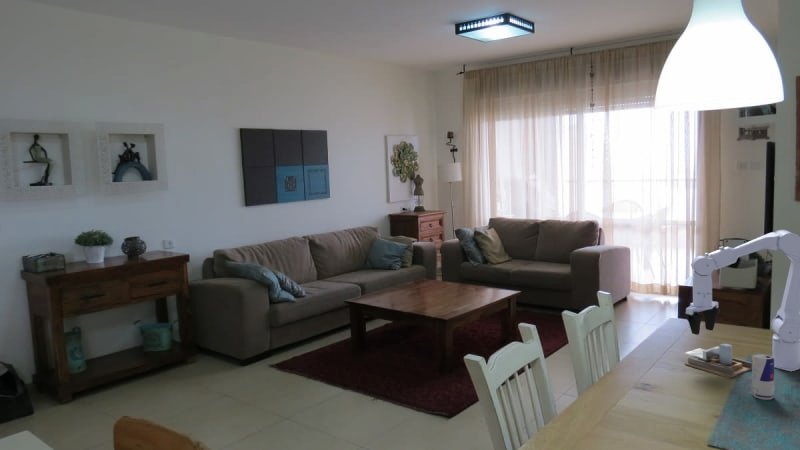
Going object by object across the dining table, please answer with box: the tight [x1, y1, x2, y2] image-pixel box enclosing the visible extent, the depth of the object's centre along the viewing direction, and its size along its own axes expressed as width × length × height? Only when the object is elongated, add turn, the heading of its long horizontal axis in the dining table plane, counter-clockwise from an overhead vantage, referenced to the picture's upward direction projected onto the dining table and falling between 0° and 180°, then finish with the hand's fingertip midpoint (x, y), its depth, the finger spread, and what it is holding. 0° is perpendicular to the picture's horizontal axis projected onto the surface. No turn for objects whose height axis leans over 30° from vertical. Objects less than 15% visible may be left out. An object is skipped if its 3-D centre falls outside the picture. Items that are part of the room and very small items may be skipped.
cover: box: [683, 345, 719, 361], centre depth 196 cm, size 8×8×3 cm
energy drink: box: [751, 352, 775, 401], centre depth 166 cm, size 5×5×12 cm
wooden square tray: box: [684, 356, 752, 379], centre depth 191 cm, size 14×15×2 cm
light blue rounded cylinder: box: [719, 343, 733, 367], centre depth 189 cm, size 4×4×7 cm
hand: (702, 331), depth 195 cm, fingers open, 7 cm apart
